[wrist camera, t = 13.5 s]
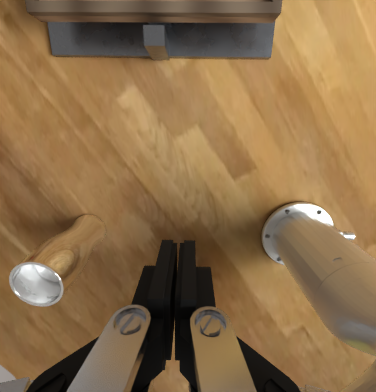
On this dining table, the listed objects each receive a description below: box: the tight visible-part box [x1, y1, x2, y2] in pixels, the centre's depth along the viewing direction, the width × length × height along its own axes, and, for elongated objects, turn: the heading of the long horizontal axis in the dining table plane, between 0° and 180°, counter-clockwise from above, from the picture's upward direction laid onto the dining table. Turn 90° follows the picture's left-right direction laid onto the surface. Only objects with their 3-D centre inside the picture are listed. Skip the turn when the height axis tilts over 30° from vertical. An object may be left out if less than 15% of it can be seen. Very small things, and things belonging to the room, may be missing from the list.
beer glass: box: [9, 215, 106, 306], centre depth 34 cm, size 7×7×15 cm
